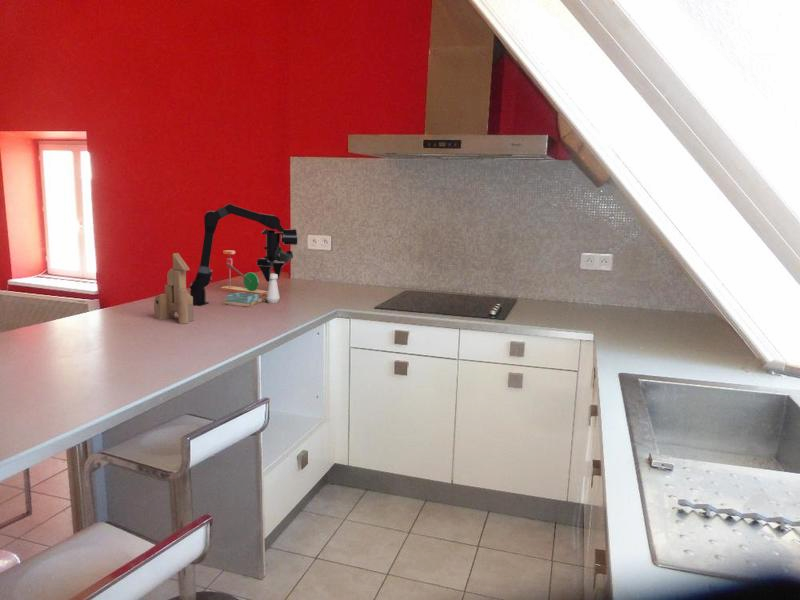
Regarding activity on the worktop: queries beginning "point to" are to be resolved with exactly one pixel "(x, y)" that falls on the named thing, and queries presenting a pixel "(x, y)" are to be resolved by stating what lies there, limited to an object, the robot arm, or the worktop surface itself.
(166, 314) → the wooden toy
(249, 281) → the crank mechanism
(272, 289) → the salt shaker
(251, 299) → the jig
